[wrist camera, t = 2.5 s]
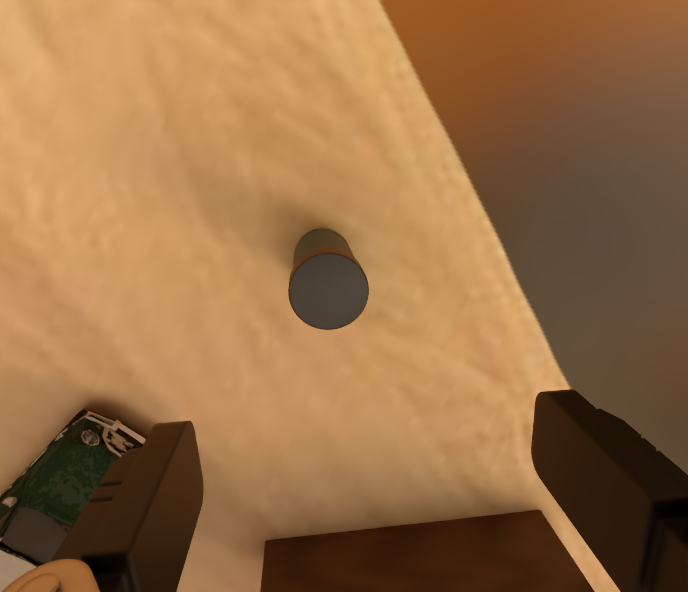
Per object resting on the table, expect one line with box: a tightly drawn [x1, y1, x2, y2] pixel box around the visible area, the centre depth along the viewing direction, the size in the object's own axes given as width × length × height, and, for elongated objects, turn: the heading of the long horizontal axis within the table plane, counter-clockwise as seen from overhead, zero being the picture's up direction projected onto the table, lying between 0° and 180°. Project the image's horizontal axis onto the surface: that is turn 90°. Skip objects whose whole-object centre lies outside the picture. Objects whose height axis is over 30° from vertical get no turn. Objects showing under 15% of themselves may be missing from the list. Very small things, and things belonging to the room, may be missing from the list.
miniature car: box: [0, 409, 146, 592], centre depth 29 cm, size 9×18×8 cm, turn 135°
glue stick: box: [288, 229, 369, 330], centre depth 25 cm, size 4×4×8 cm
